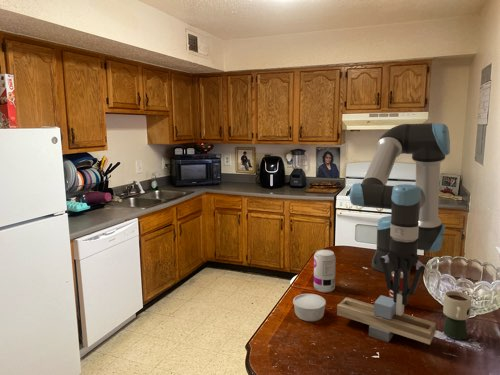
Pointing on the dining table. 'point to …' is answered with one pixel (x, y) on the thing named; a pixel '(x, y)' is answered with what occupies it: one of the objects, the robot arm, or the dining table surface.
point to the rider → (385, 307)
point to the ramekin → (309, 306)
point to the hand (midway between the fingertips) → (399, 313)
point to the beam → (387, 322)
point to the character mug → (456, 313)
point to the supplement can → (324, 271)
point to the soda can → (393, 282)
